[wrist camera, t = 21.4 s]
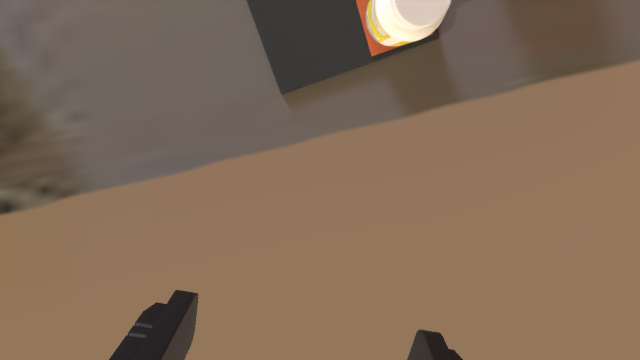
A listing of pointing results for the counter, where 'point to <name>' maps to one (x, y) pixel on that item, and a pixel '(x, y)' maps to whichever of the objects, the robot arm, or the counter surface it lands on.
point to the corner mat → (317, 39)
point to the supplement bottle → (404, 19)
